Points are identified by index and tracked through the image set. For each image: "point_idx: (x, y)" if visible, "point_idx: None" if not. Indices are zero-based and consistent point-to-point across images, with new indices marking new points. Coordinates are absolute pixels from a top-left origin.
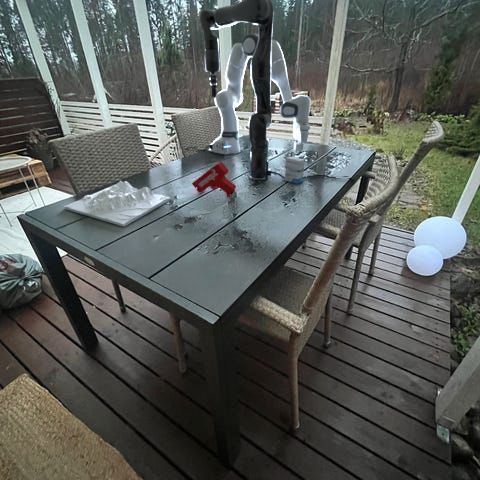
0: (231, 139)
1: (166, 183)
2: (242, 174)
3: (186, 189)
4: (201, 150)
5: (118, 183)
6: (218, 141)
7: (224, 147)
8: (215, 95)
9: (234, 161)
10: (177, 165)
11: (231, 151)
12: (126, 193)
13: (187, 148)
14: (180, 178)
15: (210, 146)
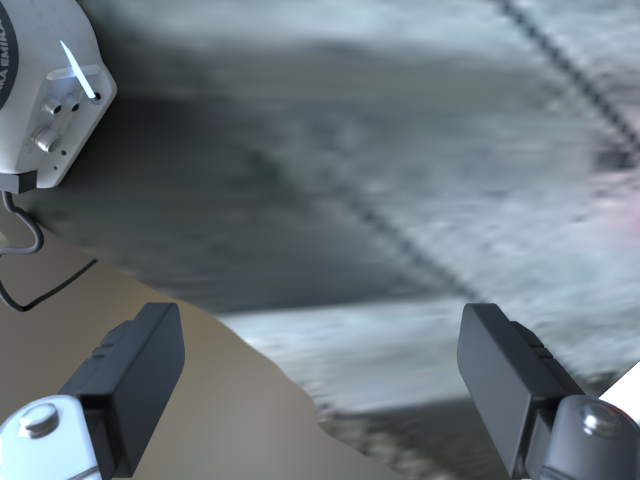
0: (22, 31)
1: None
2: (504, 7)
3: (611, 269)
4: (41, 232)
5: None
6: (22, 136)
7: (93, 94)
8: (523, 326)
9: (261, 36)
10: (306, 325)
11: (87, 43)
12: None
13: (18, 306)
14: (481, 299)
15: (26, 185)
